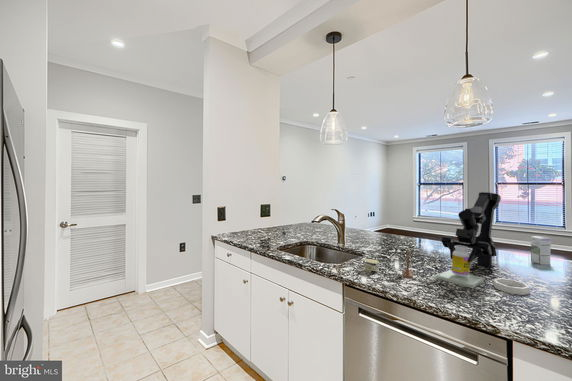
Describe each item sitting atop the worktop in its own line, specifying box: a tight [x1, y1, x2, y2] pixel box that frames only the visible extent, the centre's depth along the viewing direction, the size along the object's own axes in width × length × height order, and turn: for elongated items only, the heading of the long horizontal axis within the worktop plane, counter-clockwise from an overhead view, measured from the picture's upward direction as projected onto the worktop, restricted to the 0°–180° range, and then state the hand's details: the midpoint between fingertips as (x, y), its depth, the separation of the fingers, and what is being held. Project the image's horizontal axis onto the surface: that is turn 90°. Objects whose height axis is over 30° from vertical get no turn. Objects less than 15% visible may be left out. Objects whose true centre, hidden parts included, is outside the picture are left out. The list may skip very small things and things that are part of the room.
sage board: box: [436, 269, 485, 289], centre depth 118 cm, size 14×14×1 cm
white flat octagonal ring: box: [492, 277, 531, 296], centre depth 107 cm, size 11×11×2 cm
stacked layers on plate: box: [363, 258, 379, 273], centre depth 128 cm, size 10×9×6 cm
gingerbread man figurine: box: [402, 249, 414, 280], centre depth 123 cm, size 9×4×12 cm, turn 159°
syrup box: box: [530, 235, 552, 266], centre depth 143 cm, size 6×6×14 cm
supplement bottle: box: [451, 245, 471, 277], centre depth 118 cm, size 7×7×13 cm
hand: (459, 260), depth 117 cm, fingers closed on supplement bottle, 6 cm apart
